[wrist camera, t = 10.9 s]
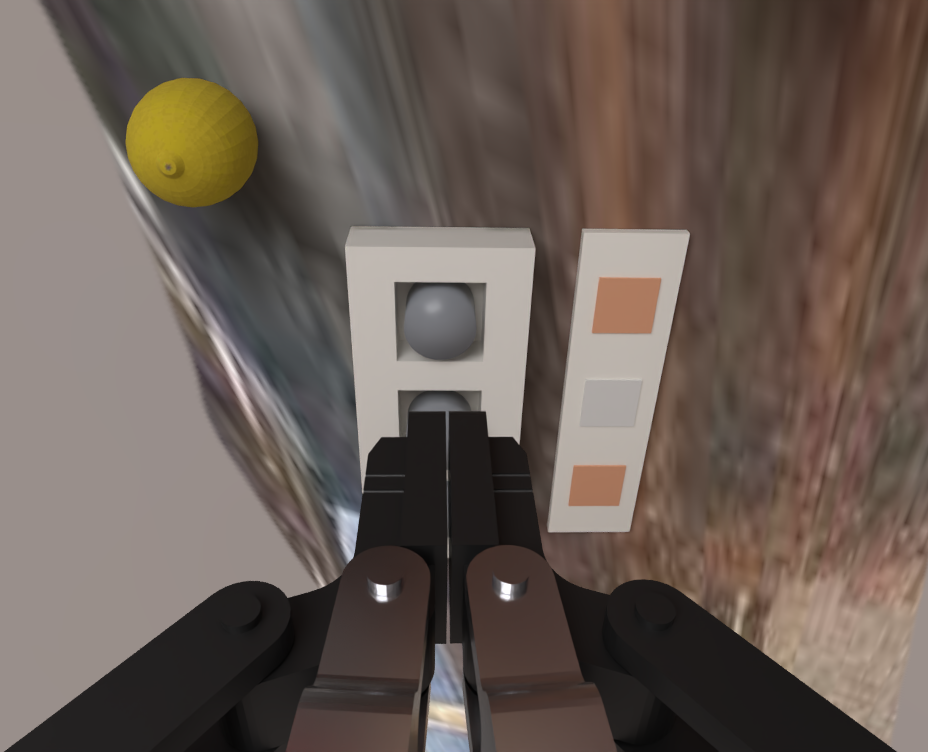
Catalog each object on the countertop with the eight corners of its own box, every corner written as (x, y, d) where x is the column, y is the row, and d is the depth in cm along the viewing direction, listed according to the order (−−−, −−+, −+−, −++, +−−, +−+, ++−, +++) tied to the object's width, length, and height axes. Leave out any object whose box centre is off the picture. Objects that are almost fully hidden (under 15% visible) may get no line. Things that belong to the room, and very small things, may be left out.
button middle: (472, 388, 43) (474, 416, 41) (470, 440, 45) (472, 470, 43) (406, 388, 43) (404, 416, 40) (408, 440, 45) (406, 470, 43)
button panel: (529, 228, 40) (535, 248, 37) (506, 526, 52) (510, 557, 50) (351, 226, 39) (344, 246, 37) (370, 527, 52) (367, 558, 49)
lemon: (239, 197, 38) (197, 254, 32) (143, 133, 36) (76, 179, 30) (292, 113, 36) (259, 154, 29) (192, 40, 34) (132, 67, 27)
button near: (475, 273, 40) (477, 296, 38) (473, 334, 43) (475, 360, 40) (405, 272, 40) (403, 295, 38) (406, 334, 42) (404, 359, 40)
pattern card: (686, 229, 40) (690, 234, 40) (627, 526, 52) (629, 533, 52) (582, 228, 40) (584, 233, 39) (547, 526, 52) (548, 533, 52)
